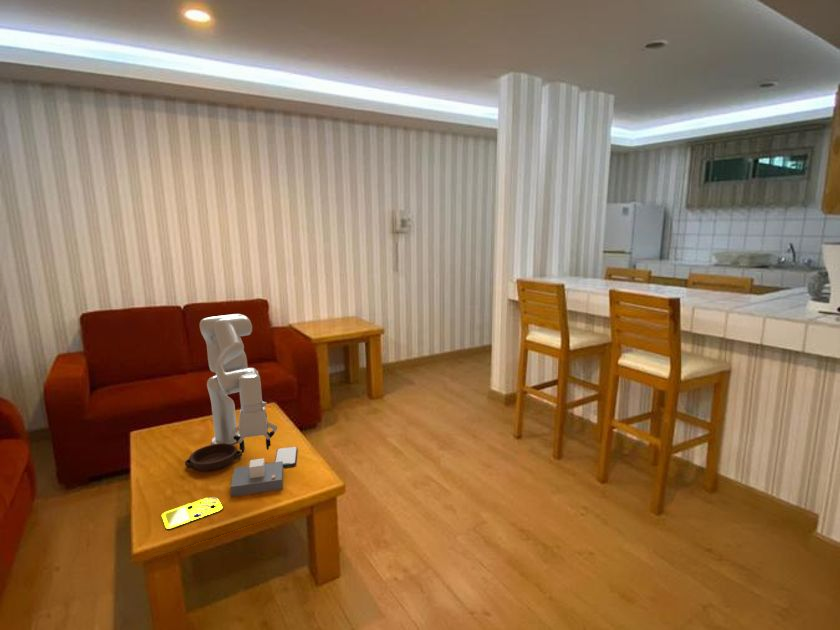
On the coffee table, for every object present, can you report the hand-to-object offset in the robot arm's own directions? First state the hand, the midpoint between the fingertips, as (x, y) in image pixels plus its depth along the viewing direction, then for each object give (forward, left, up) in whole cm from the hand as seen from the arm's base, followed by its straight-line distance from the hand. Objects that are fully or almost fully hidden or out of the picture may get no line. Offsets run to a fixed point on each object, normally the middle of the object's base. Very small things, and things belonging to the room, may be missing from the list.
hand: (255, 449), depth 174 cm
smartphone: (-17, +10, -15) cm, 25 cm away
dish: (-21, -19, -14) cm, 32 cm away
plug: (0, 0, -13) cm, 13 cm away
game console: (+13, -21, -15) cm, 29 cm away
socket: (0, 0, -14) cm, 14 cm away
